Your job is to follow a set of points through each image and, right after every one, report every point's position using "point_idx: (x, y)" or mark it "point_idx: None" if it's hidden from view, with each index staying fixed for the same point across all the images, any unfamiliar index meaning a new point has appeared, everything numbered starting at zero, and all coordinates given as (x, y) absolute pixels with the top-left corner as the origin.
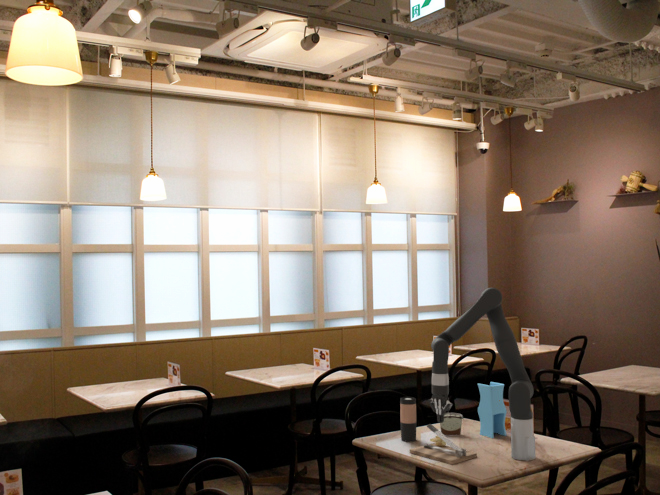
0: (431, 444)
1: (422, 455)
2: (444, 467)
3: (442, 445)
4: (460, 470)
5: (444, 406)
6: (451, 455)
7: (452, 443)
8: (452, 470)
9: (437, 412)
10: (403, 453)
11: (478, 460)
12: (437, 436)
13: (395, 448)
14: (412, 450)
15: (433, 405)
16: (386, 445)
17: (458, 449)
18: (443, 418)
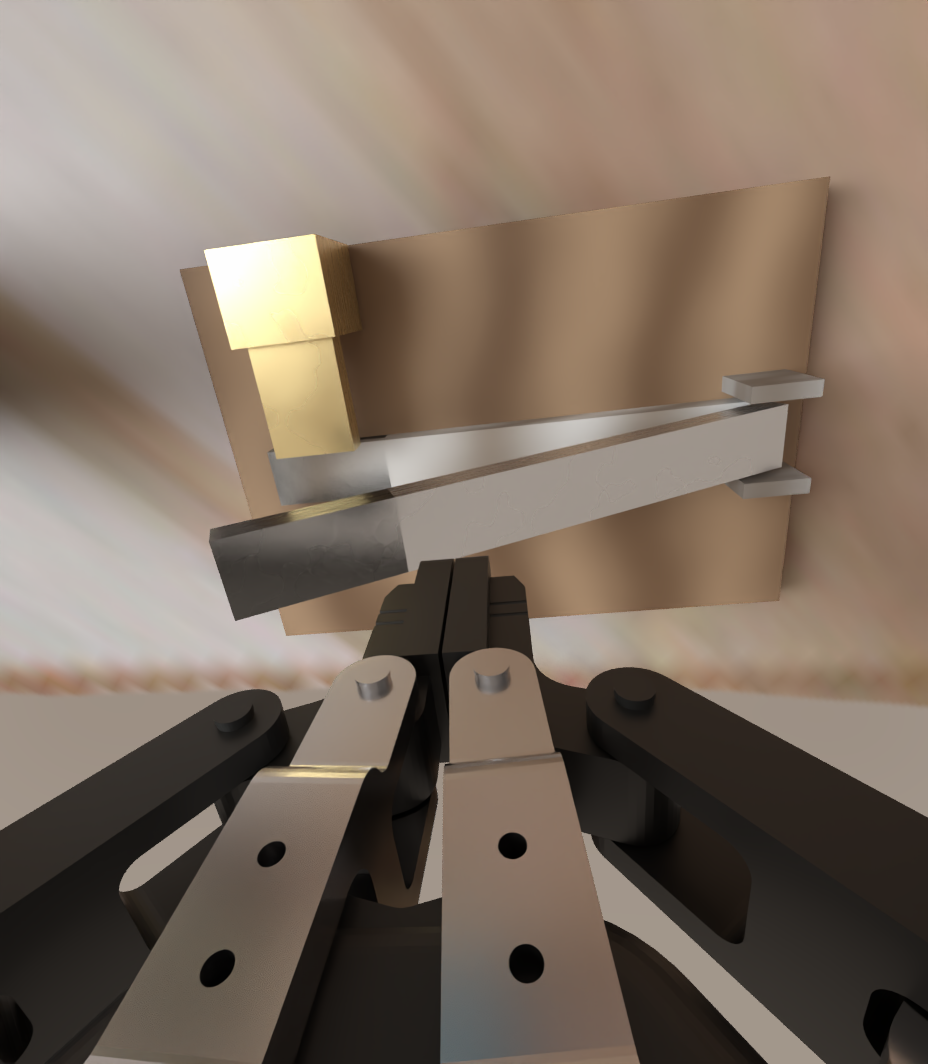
0: (225, 354)
1: None
2: (766, 673)
3: (358, 317)
4: (914, 638)
5: (550, 861)
6: None
7: (663, 461)
8: (861, 680)
9: (413, 810)
10: (286, 662)
11: (894, 282)
12: (261, 344)
13: (128, 621)
14: (320, 632)
15: (126, 974)
16: (15, 619)
17: (755, 455)
18: (527, 623)
